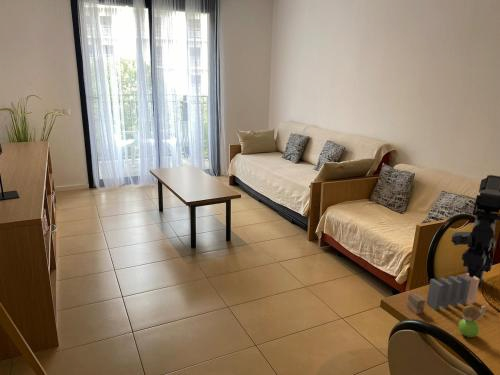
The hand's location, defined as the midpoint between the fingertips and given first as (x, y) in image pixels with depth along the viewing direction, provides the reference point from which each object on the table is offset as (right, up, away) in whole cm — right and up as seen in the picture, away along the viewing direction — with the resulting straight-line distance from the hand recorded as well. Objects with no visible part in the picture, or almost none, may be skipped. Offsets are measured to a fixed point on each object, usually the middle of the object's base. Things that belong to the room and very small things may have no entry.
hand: (474, 271), depth 129 cm
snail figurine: (-9, -17, -13) cm, 23 cm away
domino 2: (-10, -12, +2) cm, 16 cm away
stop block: (-21, -13, -1) cm, 24 cm away
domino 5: (+1, -11, +5) cm, 13 cm away
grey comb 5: (-14, -12, +1) cm, 19 cm away
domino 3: (-6, -12, +3) cm, 14 cm away
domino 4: (-3, -12, +4) cm, 13 cm away
